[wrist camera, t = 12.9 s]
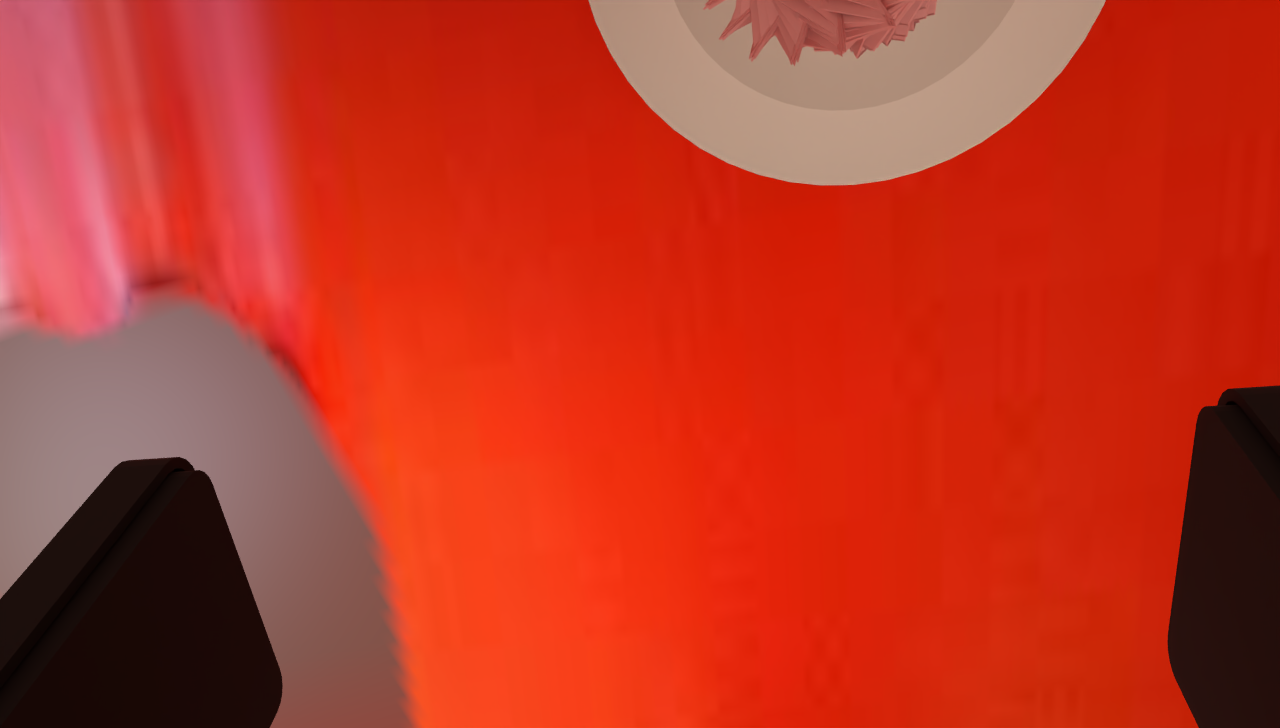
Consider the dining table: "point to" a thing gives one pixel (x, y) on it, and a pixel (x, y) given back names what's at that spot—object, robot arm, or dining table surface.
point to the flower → (826, 23)
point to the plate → (843, 84)
